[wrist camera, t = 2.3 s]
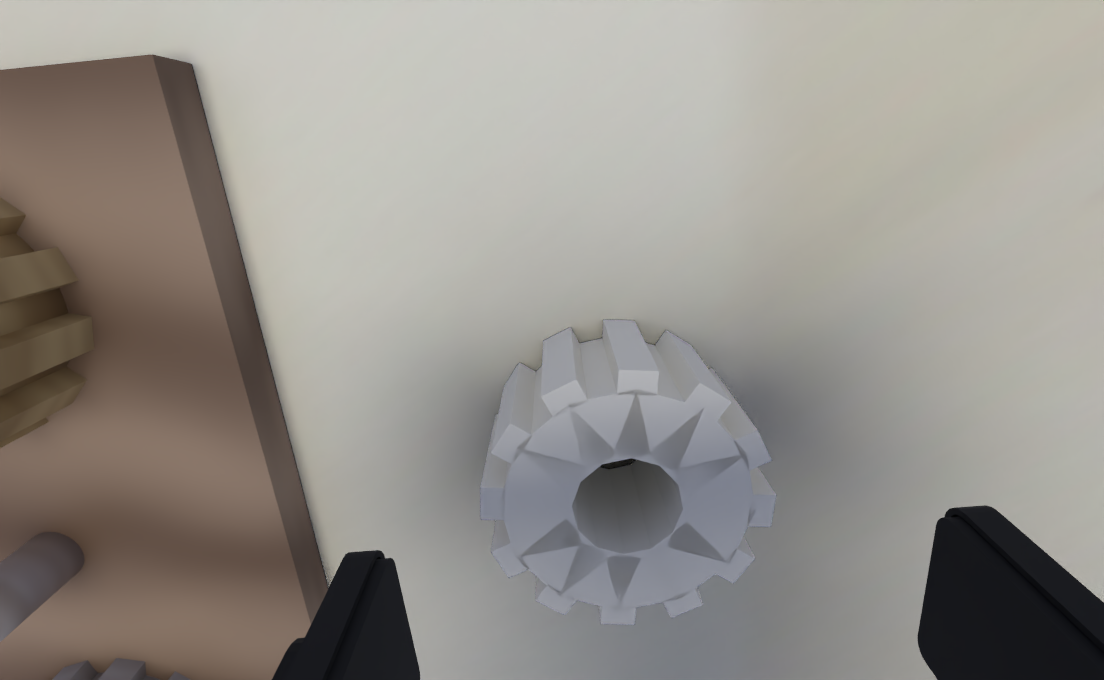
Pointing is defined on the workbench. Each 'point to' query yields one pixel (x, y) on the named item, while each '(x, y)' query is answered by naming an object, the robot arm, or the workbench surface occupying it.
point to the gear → (623, 475)
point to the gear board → (136, 396)
